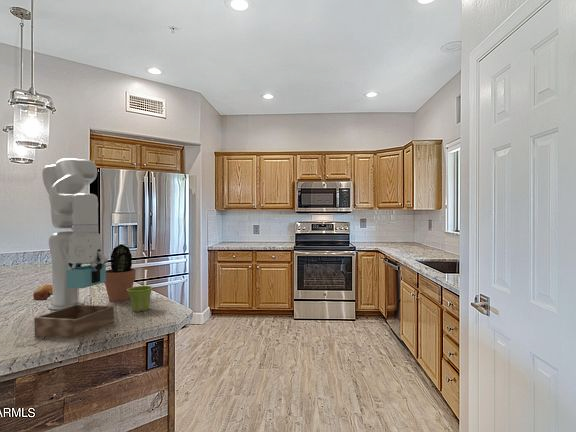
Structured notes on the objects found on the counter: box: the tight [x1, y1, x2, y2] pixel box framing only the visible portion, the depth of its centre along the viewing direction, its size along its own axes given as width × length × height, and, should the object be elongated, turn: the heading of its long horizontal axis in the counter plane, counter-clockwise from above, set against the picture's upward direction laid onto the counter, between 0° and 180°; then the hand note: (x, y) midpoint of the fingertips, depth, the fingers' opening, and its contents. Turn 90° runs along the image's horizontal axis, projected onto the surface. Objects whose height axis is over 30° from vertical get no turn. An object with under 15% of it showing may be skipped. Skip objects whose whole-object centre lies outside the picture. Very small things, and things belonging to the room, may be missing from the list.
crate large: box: [33, 304, 115, 339], centre depth 115 cm, size 16×16×6 cm
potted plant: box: [103, 243, 137, 303], centre depth 155 cm, size 14×14×25 cm
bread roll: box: [32, 284, 53, 301], centre depth 162 cm, size 10×10×8 cm
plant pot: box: [127, 285, 153, 313], centre depth 137 cm, size 9×9×9 cm
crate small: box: [66, 264, 107, 289], centre depth 117 cm, size 7×10×6 cm, turn 168°
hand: (86, 281), depth 117 cm, fingers closed on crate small, 6 cm apart
